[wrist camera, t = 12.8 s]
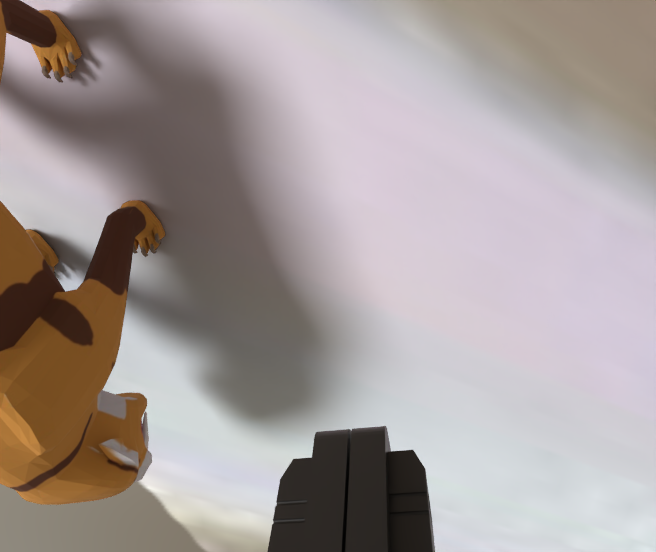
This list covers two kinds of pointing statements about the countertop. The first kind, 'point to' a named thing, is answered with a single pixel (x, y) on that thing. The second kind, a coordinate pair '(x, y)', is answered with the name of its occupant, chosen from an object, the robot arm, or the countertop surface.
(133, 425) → the toy
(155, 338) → the countertop surface
